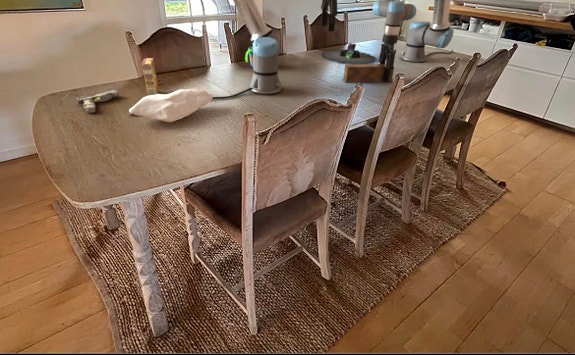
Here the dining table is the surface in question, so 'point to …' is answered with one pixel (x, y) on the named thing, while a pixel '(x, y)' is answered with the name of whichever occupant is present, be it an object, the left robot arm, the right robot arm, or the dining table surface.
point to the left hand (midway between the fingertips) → (327, 28)
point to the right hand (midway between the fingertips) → (382, 79)
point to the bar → (365, 73)
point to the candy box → (150, 76)
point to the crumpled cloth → (171, 104)
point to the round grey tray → (348, 55)
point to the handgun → (95, 100)
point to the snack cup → (250, 52)
